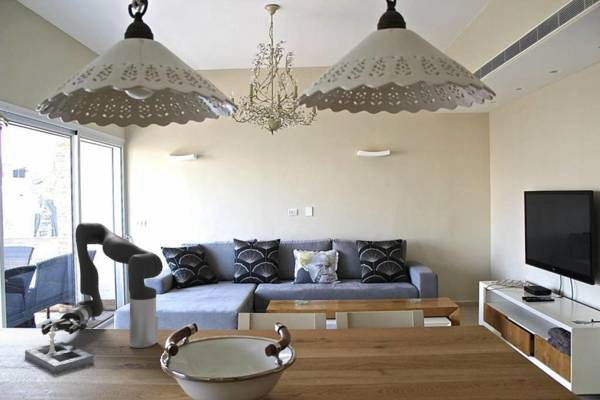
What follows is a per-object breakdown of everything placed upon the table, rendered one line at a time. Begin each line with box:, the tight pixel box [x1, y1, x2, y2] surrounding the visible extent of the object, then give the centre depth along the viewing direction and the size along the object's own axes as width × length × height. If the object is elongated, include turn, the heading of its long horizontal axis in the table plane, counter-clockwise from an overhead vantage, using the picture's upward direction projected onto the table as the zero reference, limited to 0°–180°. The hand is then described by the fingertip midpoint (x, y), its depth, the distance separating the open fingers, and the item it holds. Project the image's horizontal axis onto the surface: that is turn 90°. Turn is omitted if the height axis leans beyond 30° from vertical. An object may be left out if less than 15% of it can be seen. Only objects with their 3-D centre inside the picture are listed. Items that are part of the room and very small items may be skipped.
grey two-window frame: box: [24, 341, 95, 375], centre depth 145 cm, size 12×22×2 cm, turn 52°
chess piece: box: [45, 327, 57, 355], centre depth 148 cm, size 5×5×10 cm
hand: (57, 331), depth 152 cm, fingers open, 8 cm apart
